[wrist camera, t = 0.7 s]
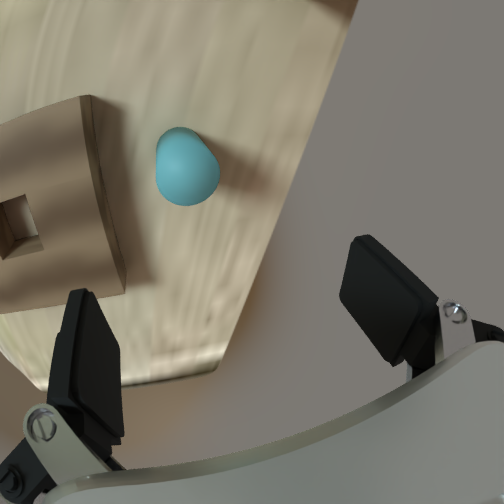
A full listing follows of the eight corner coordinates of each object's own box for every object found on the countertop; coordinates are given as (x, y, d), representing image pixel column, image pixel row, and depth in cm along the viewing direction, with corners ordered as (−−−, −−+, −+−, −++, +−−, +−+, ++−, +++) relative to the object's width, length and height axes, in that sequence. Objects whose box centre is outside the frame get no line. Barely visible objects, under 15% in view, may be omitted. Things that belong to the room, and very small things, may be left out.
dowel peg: (154, 130, 24) (152, 149, 17) (200, 124, 25) (218, 141, 18) (159, 173, 26) (160, 210, 19) (202, 167, 27) (221, 200, 20)
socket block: (-52, 154, 15) (-71, 166, 11) (90, 94, 20) (79, 96, 16) (0, 295, 26) (-9, 315, 23) (126, 271, 31) (124, 293, 28)
